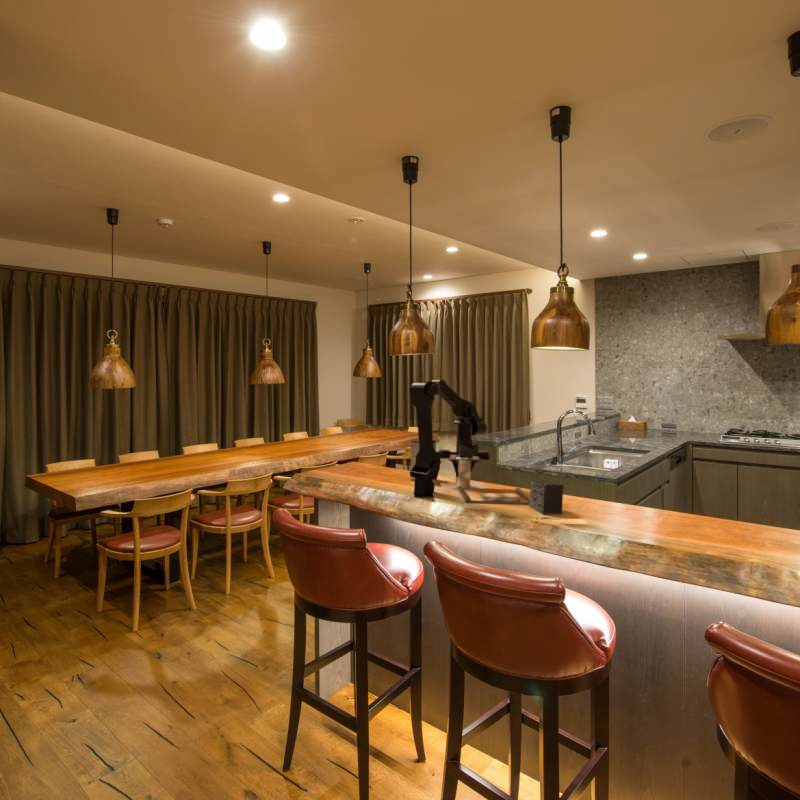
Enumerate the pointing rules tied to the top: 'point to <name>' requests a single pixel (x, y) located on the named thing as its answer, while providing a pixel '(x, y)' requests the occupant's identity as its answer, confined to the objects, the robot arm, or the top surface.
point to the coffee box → (415, 450)
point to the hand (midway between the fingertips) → (462, 477)
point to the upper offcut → (499, 497)
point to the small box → (546, 496)
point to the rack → (518, 490)
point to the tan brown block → (463, 472)
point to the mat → (454, 485)
